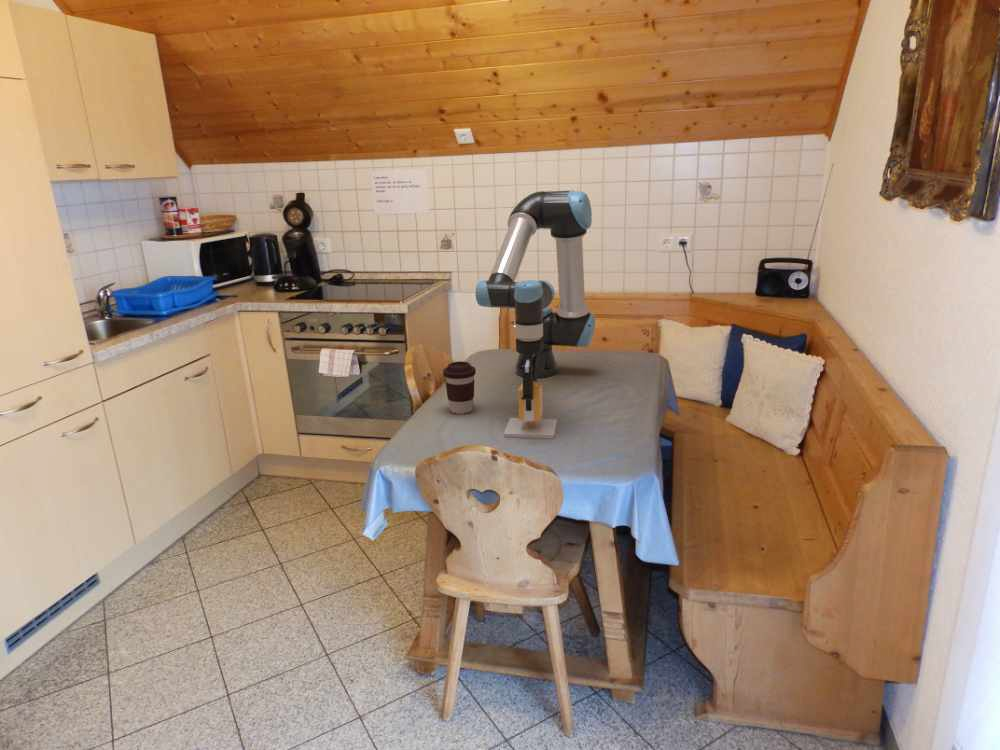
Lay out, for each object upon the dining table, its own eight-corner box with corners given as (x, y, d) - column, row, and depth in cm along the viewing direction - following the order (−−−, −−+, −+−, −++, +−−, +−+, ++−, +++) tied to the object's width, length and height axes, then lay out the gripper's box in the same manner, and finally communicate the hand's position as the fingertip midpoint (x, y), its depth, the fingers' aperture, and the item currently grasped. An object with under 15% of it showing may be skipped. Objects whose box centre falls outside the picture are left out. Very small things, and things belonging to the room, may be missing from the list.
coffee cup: (453, 418, 204) (450, 371, 200) (440, 408, 213) (437, 363, 208) (482, 412, 208) (480, 365, 204) (469, 402, 217) (466, 357, 212)
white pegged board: (510, 420, 201) (509, 398, 199) (557, 422, 198) (557, 400, 196) (503, 436, 190) (503, 413, 187) (553, 438, 187) (553, 415, 185)
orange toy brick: (522, 412, 196) (521, 379, 193) (542, 413, 195) (541, 379, 192) (519, 420, 190) (518, 386, 187) (540, 421, 189) (539, 386, 186)
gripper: (520, 329, 195) (522, 404, 202) (510, 346, 177) (512, 428, 184) (546, 329, 194) (547, 404, 201) (539, 347, 176) (540, 429, 183)
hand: (530, 415), depth 193 cm, fingers closed on orange toy brick, 6 cm apart
